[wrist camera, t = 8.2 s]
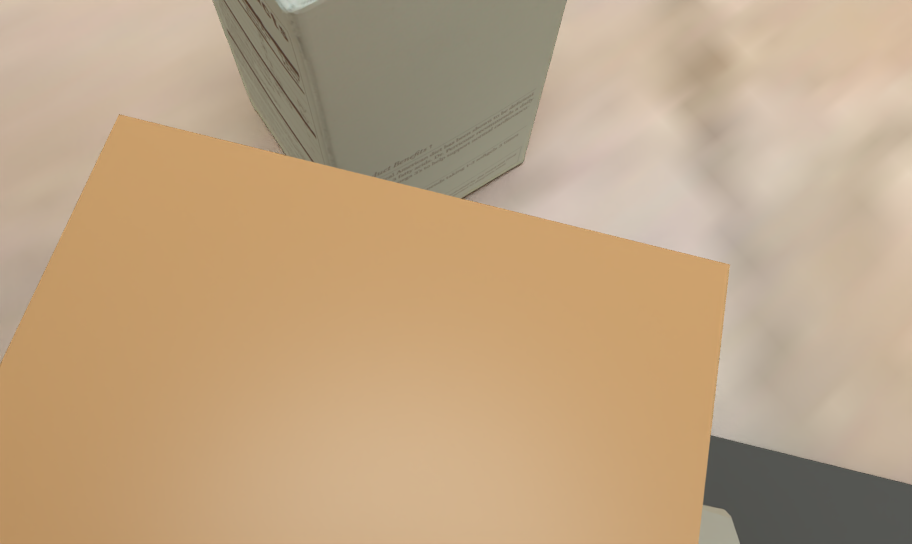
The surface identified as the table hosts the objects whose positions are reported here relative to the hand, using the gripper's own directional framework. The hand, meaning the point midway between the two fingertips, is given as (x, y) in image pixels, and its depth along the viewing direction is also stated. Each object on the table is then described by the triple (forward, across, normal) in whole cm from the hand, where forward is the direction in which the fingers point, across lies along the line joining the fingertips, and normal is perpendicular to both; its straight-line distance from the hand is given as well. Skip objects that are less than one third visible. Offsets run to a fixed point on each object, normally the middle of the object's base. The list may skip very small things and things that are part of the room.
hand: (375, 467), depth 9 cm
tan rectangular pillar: (+2, 0, +3) cm, 4 cm away
